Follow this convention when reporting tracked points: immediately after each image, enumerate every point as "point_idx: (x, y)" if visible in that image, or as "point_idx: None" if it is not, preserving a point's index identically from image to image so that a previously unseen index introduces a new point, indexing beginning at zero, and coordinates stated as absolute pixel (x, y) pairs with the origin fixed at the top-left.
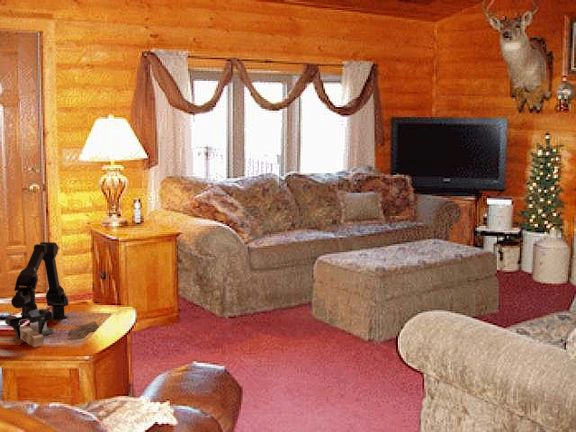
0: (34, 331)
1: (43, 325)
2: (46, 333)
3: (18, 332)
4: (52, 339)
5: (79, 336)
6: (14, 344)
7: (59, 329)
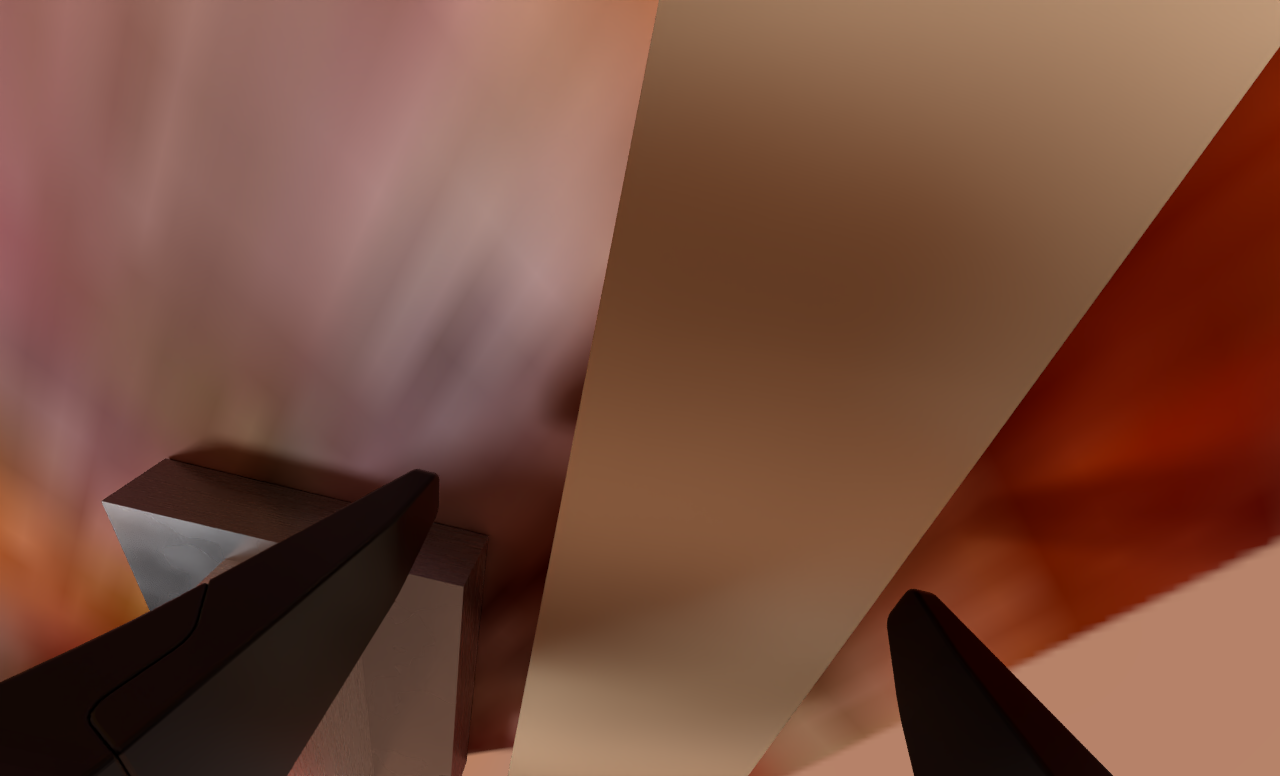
0: (581, 582)
1: (129, 643)
2: (278, 504)
3: None
4: (286, 162)
5: None
6: (988, 547)
7: (35, 507)
